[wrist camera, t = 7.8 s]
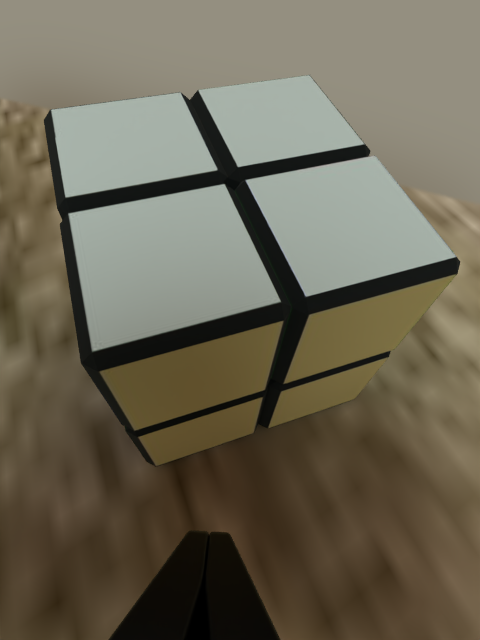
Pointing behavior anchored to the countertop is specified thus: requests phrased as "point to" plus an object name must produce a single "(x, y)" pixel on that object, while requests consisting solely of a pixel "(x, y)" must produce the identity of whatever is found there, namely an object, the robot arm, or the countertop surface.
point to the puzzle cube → (233, 258)
